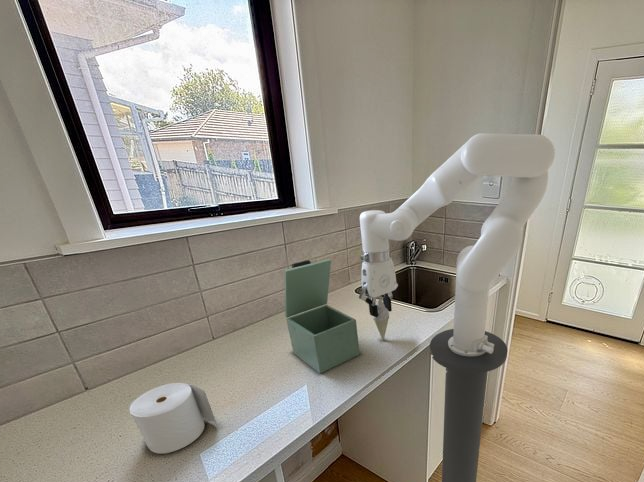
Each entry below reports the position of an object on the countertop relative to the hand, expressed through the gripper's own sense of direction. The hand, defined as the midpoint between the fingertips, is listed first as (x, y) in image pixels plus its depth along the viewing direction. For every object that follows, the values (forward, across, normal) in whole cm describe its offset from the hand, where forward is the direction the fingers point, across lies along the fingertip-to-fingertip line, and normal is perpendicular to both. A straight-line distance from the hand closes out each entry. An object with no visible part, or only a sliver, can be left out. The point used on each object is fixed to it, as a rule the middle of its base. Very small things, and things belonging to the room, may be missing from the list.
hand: (380, 312), depth 104 cm
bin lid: (-10, -17, +11) cm, 23 cm away
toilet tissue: (+10, -57, +1) cm, 58 cm away
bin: (+10, -17, +6) cm, 21 cm away
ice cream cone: (+10, 0, 0) cm, 10 cm away
